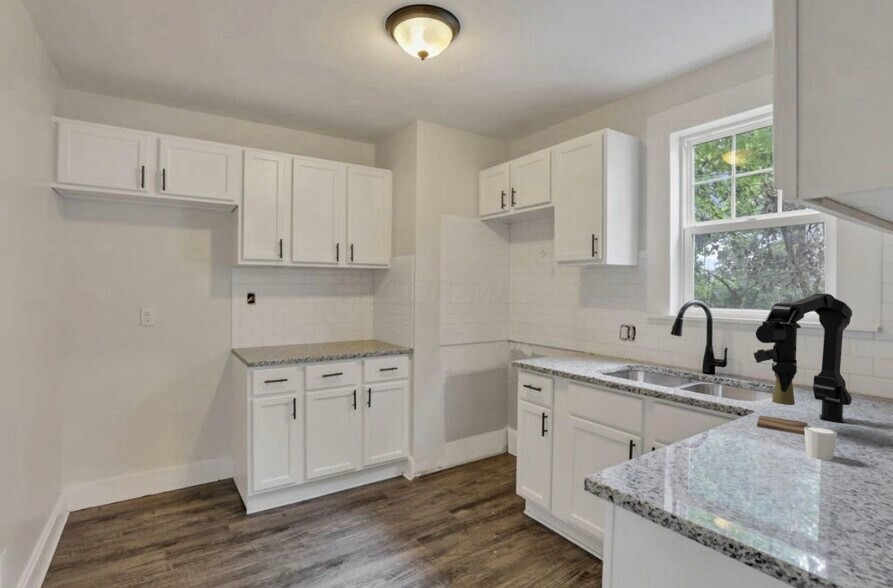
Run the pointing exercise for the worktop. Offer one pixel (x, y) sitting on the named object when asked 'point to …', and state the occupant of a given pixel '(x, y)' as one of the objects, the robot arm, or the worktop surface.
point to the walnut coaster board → (781, 424)
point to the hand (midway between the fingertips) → (783, 390)
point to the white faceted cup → (820, 442)
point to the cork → (783, 394)
